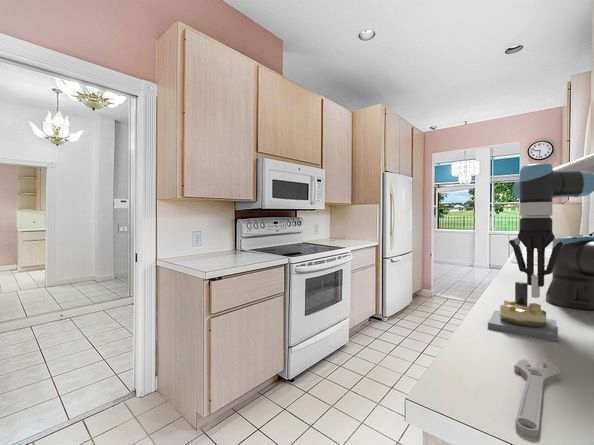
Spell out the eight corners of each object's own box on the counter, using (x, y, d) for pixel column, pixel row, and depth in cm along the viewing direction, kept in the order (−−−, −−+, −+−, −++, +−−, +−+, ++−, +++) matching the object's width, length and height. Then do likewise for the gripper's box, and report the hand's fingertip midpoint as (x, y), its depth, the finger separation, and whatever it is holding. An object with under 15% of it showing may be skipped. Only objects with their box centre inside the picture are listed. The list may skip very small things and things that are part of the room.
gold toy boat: (548, 329, 74) (548, 297, 74) (499, 321, 80) (499, 291, 80) (542, 311, 88) (542, 284, 88) (501, 306, 94) (501, 280, 94)
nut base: (494, 310, 95) (494, 305, 95) (555, 320, 86) (555, 315, 86) (483, 327, 81) (483, 321, 81) (556, 342, 71) (556, 335, 71)
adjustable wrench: (538, 444, 40) (538, 431, 40) (484, 421, 45) (484, 409, 45) (561, 375, 57) (561, 366, 57) (520, 363, 62) (520, 355, 62)
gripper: (567, 216, 85) (567, 298, 85) (513, 217, 95) (513, 290, 95) (562, 217, 80) (562, 304, 81) (505, 217, 90) (505, 294, 90)
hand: (535, 296), depth 88 cm, fingers closed
